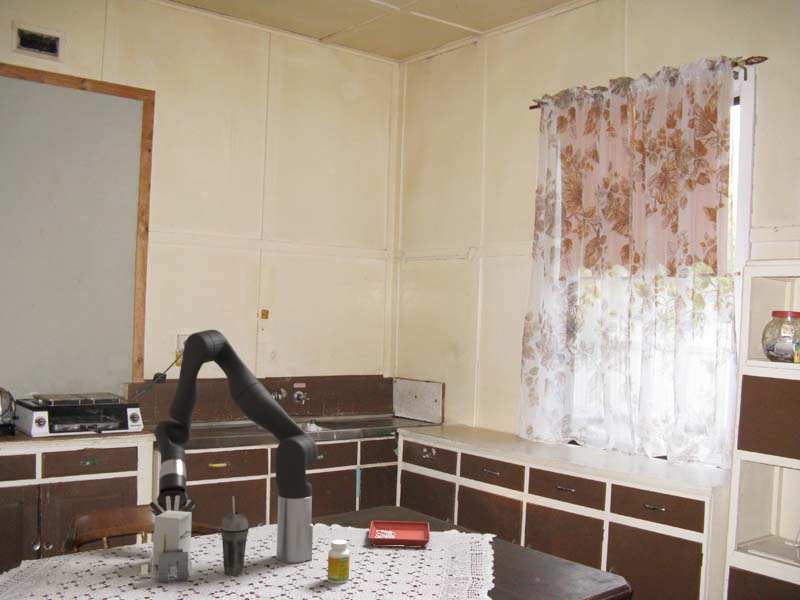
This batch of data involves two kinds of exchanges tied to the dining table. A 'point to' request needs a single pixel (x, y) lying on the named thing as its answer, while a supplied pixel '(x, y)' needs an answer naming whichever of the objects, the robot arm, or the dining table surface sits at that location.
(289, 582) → the dining table surface
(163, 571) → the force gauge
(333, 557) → the supplement bottle
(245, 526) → the beverage cup
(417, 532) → the plant saucer
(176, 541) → the supplement box
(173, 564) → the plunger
